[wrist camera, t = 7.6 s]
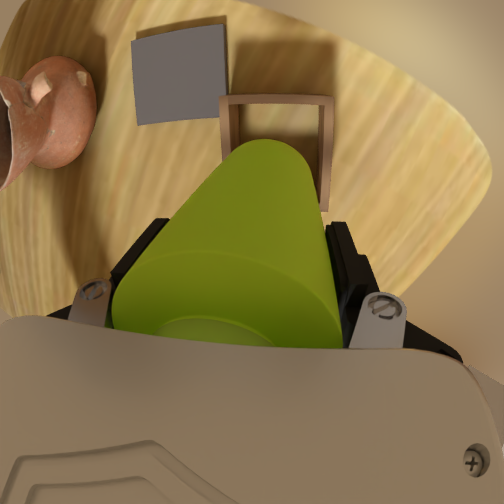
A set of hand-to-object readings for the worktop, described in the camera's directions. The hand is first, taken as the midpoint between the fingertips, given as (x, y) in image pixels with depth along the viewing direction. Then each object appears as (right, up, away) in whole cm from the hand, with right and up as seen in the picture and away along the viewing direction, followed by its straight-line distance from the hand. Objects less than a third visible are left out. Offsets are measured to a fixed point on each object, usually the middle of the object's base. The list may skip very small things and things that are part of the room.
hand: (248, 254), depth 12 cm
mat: (-7, +18, +14) cm, 24 cm away
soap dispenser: (+1, +4, +7) cm, 8 cm away
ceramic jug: (-24, +18, +16) cm, 34 cm away
